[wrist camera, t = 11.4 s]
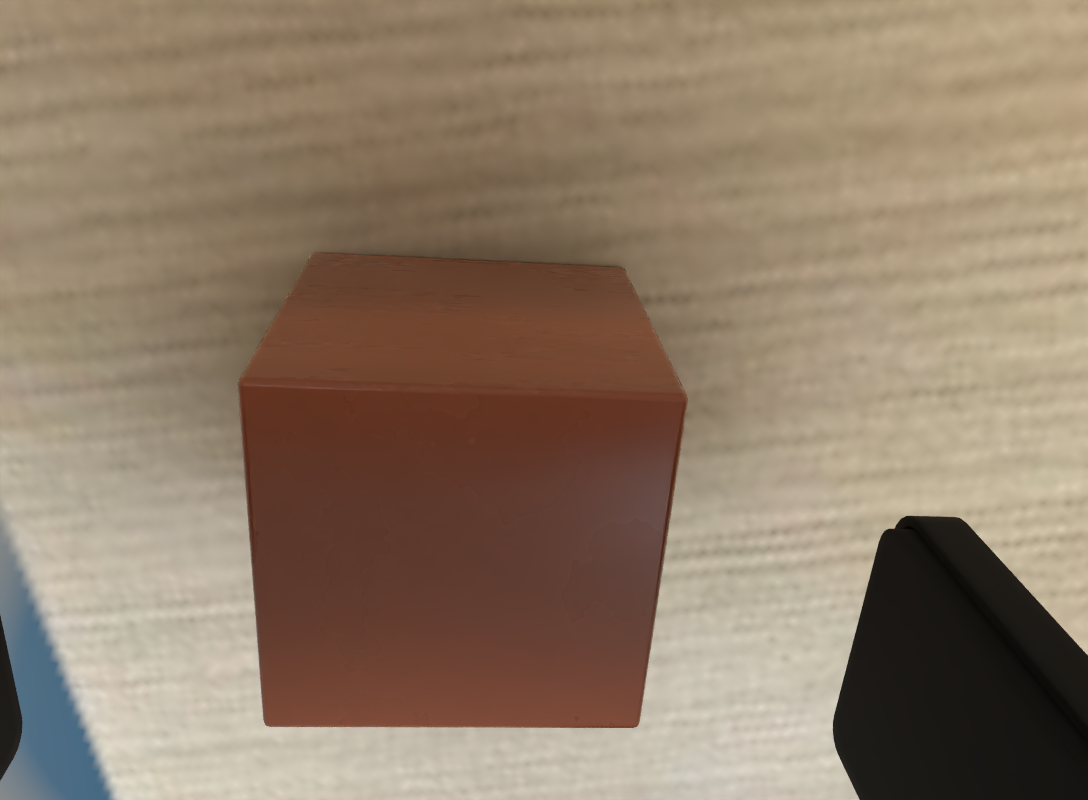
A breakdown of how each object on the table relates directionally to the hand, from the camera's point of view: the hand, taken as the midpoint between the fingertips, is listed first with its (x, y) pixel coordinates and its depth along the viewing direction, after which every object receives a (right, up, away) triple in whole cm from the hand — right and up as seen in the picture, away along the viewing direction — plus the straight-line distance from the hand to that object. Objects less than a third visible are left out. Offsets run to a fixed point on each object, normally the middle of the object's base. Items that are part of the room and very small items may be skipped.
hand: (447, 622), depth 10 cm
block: (0, +2, +4) cm, 5 cm away
